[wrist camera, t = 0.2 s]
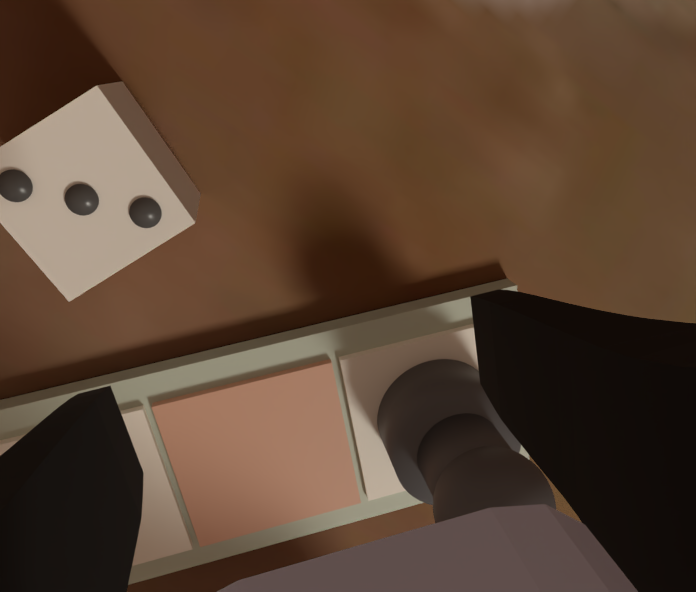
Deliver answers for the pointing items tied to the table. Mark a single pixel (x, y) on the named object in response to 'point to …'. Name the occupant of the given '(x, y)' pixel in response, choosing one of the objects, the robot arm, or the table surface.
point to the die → (93, 189)
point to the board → (267, 429)
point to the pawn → (455, 443)
